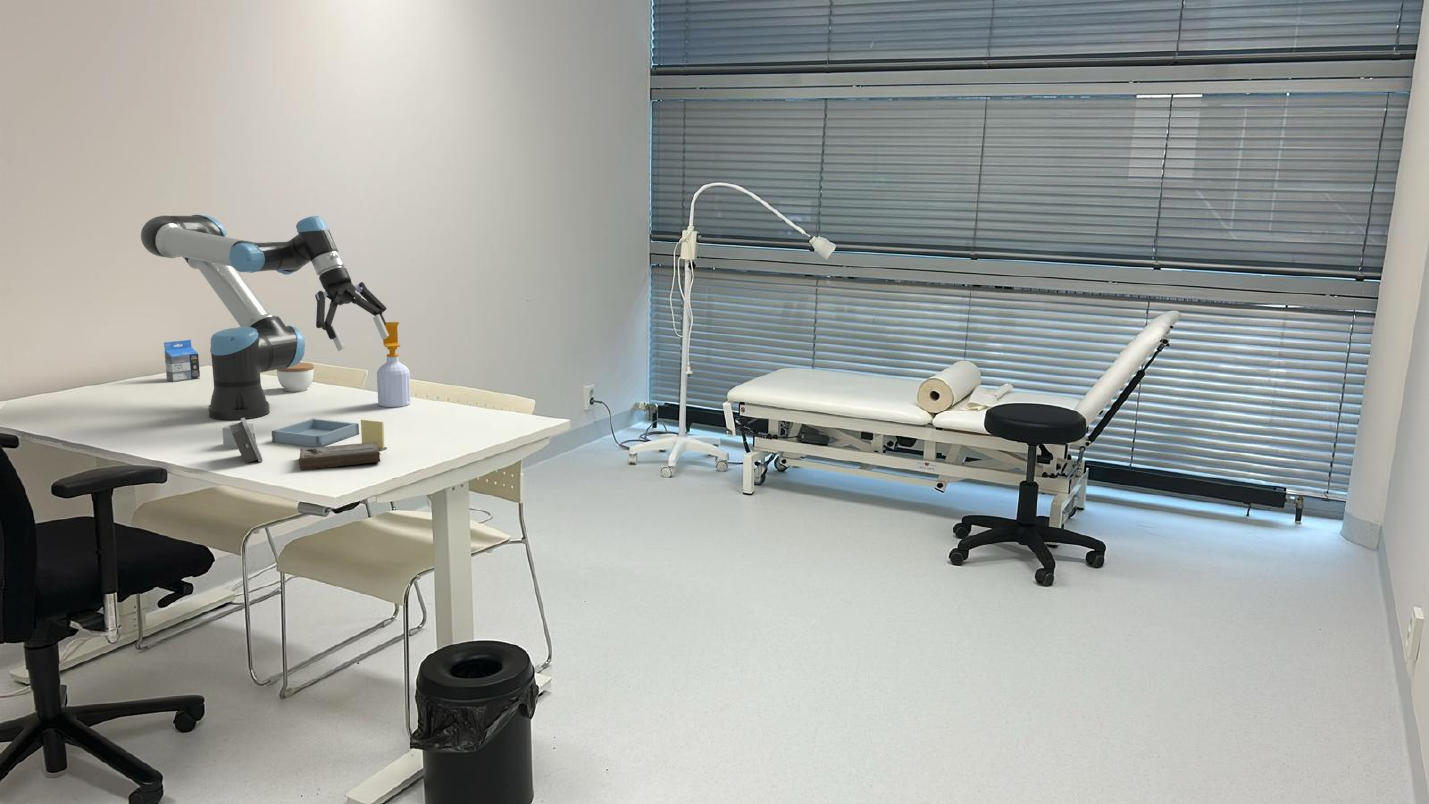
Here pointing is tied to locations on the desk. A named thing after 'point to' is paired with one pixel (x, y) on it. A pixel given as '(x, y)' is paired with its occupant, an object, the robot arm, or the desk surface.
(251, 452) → the electrical switch
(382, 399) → the soap bottle
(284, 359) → the robot arm
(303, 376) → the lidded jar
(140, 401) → the desk surface
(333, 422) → the parts tray
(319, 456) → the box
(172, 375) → the label tape cartridge
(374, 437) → the label card
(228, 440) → the grey block
